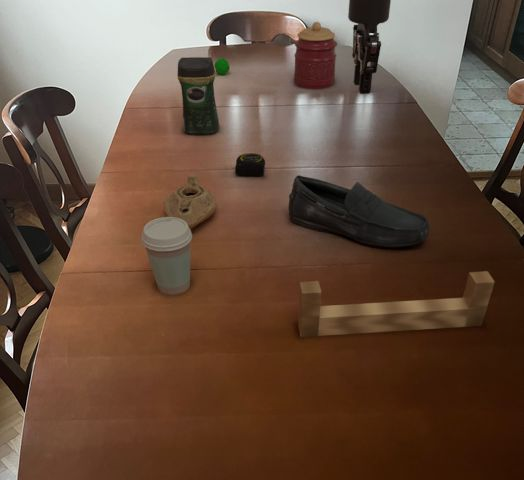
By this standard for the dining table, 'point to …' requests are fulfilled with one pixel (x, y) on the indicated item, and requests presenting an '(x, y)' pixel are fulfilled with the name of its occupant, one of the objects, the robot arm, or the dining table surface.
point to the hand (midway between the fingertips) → (361, 88)
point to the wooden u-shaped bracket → (393, 311)
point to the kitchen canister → (315, 58)
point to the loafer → (354, 214)
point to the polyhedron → (222, 66)
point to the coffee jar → (198, 95)
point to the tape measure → (250, 165)
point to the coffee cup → (169, 253)
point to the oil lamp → (190, 202)
